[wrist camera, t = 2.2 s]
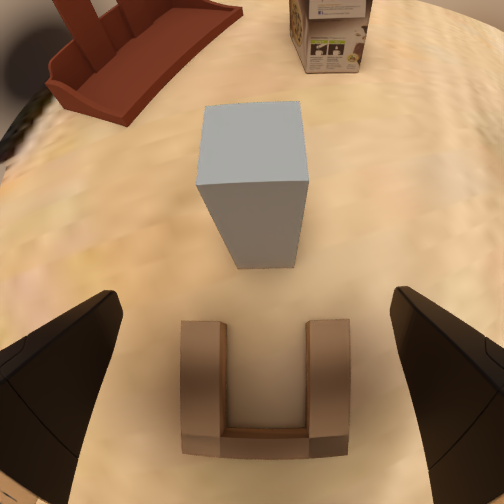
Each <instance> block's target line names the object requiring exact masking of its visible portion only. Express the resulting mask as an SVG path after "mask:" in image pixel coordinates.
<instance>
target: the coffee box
mask: <svg viewBox="0 0 504 504" xmlns="http://www.w3.org/2000/svg"><path fill="white" fill-rule="evenodd" d="M372 1H373V0H289V7H290V36H291V38H292V41H293V43H294V45H295V48H296V50H297V52H298V54H299V57H300V59H301V62H302V64H303V66H304V69H305V71H306V73H319V72H358V71H359V67H360V62H361V58H362V53H363V48H364V43H365V39H366V34H367V28H368V23H369V18H370V12H371V7H372Z"/></svg>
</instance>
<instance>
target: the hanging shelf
mask: <svg viewBox="0 0 504 504" xmlns="http://www.w3.org/2000/svg"><path fill="white" fill-rule="evenodd" d="M52 1H53V3H54V4H55V6H56V8H57V10H58V12H59V14H60V15H61V17H62V19H63V21H64V23H65V24H66V26H67V28H68V30H69V31H70V33H71V35H72V37H73V38H74V39H73V40H71V41H70V42H69V43H68V44H67V45H66V46H65V47H64V48H62V49H61V50H60V51H59V52H58V53H57V54H56V55H55V56H54V57H53V58H52V59H51V60H50V61H49V65H48V67H49V72H50V78H49V79H48V81H47V82H46V83H45V84H46V86H47V87H48V88H49V90H50V91H51V92H52V94H53V95H54V96H55V98H56V99H57V100H58V101H59V103H60V104H61V105H62V107H63V108H64V109H67V110H70V111H74V112H78V113H81V114H85V115H89V116H92V117H96V118H99V119H102V120H106V121H109V122H112V123H116V124H119V125H122V126H125V127H128V126H129V125H130V124H131V123H132V122H133V120H134V119H135V118H136V117H137V116H138V115H139V113H140V112H141V111H142V110H143V109H144V108H145V107H146V106H147V104H148V103H149V102H150V101H151V100H152V99H153V98H154V97H155V96H156V95H157V93H158V92H159V91H160V90H161V89H162V88H163V87H164V86H165V85H166V84H167V83H168V82H169V81H170V80H171V79H172V78H173V77H174V76H175V75H176V74H177V73H178V72H179V71H180V70H181V69H182V68H183V67H184V66H185V65H186V64H187V63H188V62H189V61H190V60H191V59H192V58H194V57H195V56H196V55H197V54H198V53H199V52H200V51H201V50H202V49H203V48H204V47H206V46H207V45H208V44H209V43H210V42H211V41H212V40H214V39H215V38H216V37H217V36H218V35H219V34H221V33H222V32H223V31H224V30H225V29H227V28H228V27H229V26H230V25H232V24H233V23H234V22H235V21H237V20H238V19H239V18H240V17H242V16H243V10H242V7H237V6H228V5H223V4H219V3H216V2H212V1H210V0H116V1H117V3H118V4H117V5H116V6H115V7H113V8H112V9H110V10H109V11H108V12H106V13H105V14H104V15H102V16H101V17H100V18H98V16H97V14H96V12H95V10H94V8H93V6H92V3H91V1H90V0H52Z"/></svg>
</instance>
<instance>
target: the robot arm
mask: <svg viewBox="0 0 504 504" xmlns="http://www.w3.org/2000/svg"><path fill="white" fill-rule="evenodd" d="M390 317H391V321H392V326H393V330H394V335H395V340H396V345H397V350H398V354H399V358H400V361H401V364H402V368H403V371H404V374H405V378H406V381H407V384H408V388H409V391H410V395H411V399H412V402H413V406H414V410H415V414H416V418H417V422H418V426H419V430H420V434H421V438H422V443H423V447H424V452H425V457H426V462H427V467H428V470H429V471H428V473H429V478H430V484H431V490H432V496H433V503H434V504H504V348H502V347H501V346H499V345H498V344H496V343H495V342H493V341H492V340H490V339H489V338H488V337H485V336H484V335H483V334H482V333H480V332H479V331H477V330H476V329H474V328H473V327H471V326H470V325H468V324H467V323H465V322H464V321H462V320H460V319H459V318H457V317H456V316H454V315H453V314H451V313H450V312H448V311H447V310H445V309H443V308H442V307H440V306H439V305H437V304H436V303H434V302H432V301H431V300H429V299H428V298H426V297H425V296H423V295H421V294H420V293H418V292H416V291H415V290H413V289H412V288H410V287H408V286H400V287H396V288H395V290H394V294H393V298H392V302H391V306H390ZM122 318H123V310H122V307H121V304H120V301H119V298H118V295H117V293H116V292H115V291H113V290H104V291H102V292H100V293H98V294H96V295H95V296H93V297H91V298H89V299H88V300H86V301H84V302H82V303H81V304H79V305H77V306H75V307H74V308H72V309H70V310H69V311H67V312H65V313H63V314H62V315H60V316H58V317H57V318H55V319H53V320H52V321H50V322H48V323H47V324H45V325H43V326H41V327H40V328H38V329H36V330H35V331H33V332H31V333H30V334H28V336H25V337H23V338H22V339H20V340H18V341H17V342H15V343H13V344H11V345H10V346H8V347H6V348H5V349H3V350H1V351H0V504H36V502H37V499H40V500H42V501H44V502H46V503H48V504H68V500H69V496H70V491H71V487H72V483H73V479H74V475H75V471H76V467H77V463H78V458H79V455H80V451H81V448H82V444H83V441H84V437H85V434H86V431H87V427H88V424H89V421H90V418H91V415H92V411H93V408H94V405H95V402H96V399H97V396H98V393H99V390H100V387H101V385H102V382H103V379H104V376H105V373H106V371H107V368H108V365H109V362H110V360H111V357H112V354H113V351H114V347H115V343H116V340H117V336H118V332H119V329H120V325H121V321H122Z"/></svg>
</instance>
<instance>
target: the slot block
mask: <svg viewBox="0 0 504 504" xmlns="http://www.w3.org/2000/svg"><path fill="white" fill-rule="evenodd" d="M226 330H227V325H226V324H224V323H222V322H210V321H181V362H180V398H181V440H182V454H190V455H198V456H208V457H219V458H234V459H264V460H278V459H308V458H323V457H334V456H344V455H348V442H349V422H350V384H351V360H350V320H349V319H336V320H314V321H309V322H307V323H306V354H307V388H306V428H285V429H253V428H227V427H226Z"/></svg>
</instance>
